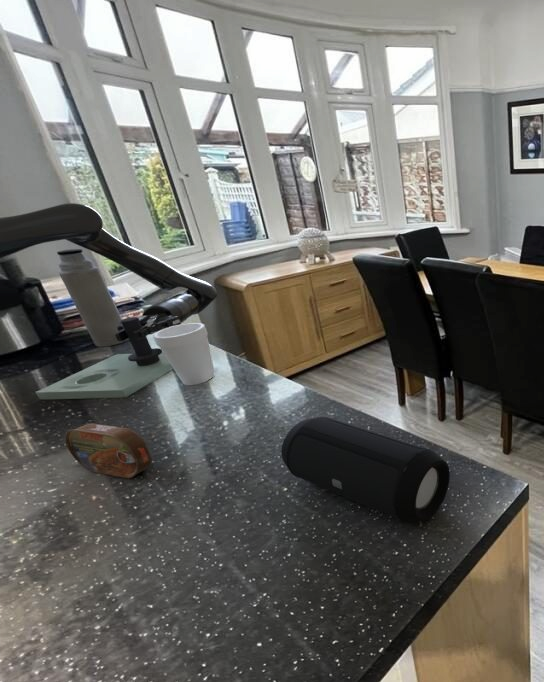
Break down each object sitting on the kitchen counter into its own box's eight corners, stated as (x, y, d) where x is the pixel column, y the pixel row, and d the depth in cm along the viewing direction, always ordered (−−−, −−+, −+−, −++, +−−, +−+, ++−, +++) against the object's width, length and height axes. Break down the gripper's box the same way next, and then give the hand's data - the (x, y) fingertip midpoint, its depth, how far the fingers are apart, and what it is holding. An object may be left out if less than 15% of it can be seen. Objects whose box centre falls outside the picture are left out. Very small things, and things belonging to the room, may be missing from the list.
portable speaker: (285, 487, 62) (267, 435, 58) (335, 449, 70) (323, 401, 66) (415, 545, 52) (404, 487, 47) (456, 493, 60) (450, 439, 56)
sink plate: (39, 399, 89) (35, 392, 89) (119, 360, 108) (116, 354, 107) (125, 397, 89) (122, 389, 88) (191, 358, 108) (189, 351, 107)
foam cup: (167, 391, 91) (144, 340, 86) (185, 373, 99) (165, 325, 94) (214, 384, 93) (194, 334, 88) (227, 367, 102) (210, 320, 96)
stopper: (124, 368, 98) (103, 324, 94) (147, 357, 104) (128, 315, 100) (150, 367, 98) (130, 323, 94) (171, 356, 104) (153, 314, 100)
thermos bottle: (97, 341, 121) (51, 250, 110) (131, 334, 126) (90, 246, 115) (93, 349, 116) (45, 254, 104) (129, 341, 120) (86, 249, 109)
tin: (77, 469, 67) (52, 428, 64) (99, 457, 70) (76, 417, 67) (143, 482, 64) (121, 440, 60) (163, 469, 67) (143, 428, 63)
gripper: (134, 303, 108) (86, 325, 93) (191, 298, 111) (154, 319, 95) (145, 328, 111) (100, 354, 96) (200, 323, 114) (166, 347, 98)
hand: (127, 336), depth 95 cm, fingers closed on stopper, 3 cm apart
